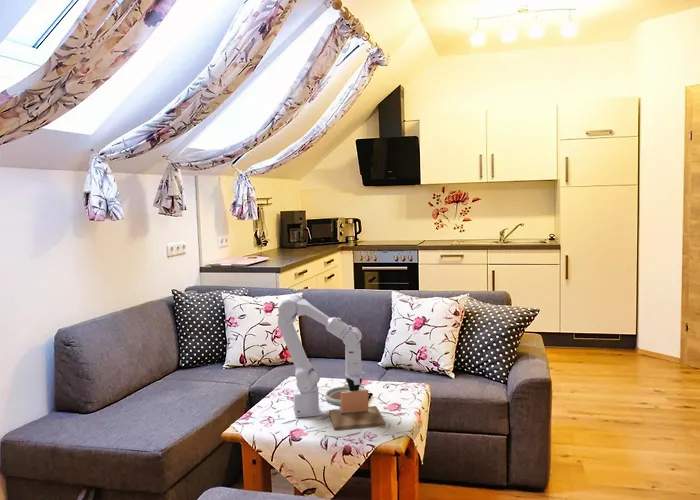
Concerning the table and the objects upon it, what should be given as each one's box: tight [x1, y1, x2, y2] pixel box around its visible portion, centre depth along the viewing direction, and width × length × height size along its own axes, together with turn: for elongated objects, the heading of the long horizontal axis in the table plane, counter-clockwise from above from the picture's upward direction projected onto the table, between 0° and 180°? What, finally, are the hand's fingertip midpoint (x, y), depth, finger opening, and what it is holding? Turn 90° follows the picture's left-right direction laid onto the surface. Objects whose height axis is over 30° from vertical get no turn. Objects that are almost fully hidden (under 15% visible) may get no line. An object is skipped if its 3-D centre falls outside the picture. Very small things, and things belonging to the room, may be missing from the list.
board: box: [328, 405, 386, 431], centre depth 221 cm, size 18×16×1 cm
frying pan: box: [324, 383, 365, 406], centre depth 248 cm, size 17×3×28 cm
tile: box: [340, 389, 369, 414], centre depth 223 cm, size 10×9×1 cm
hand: (354, 397), depth 223 cm, fingers closed
